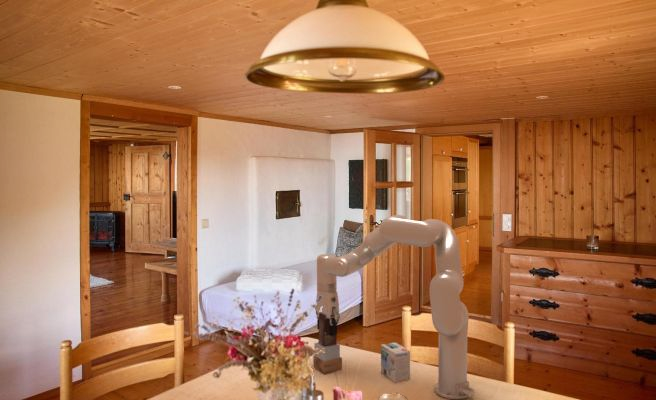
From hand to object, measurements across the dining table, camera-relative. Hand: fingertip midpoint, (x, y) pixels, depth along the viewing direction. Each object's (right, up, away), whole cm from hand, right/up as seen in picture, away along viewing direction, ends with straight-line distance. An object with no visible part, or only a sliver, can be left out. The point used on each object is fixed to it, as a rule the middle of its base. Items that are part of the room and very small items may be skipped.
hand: (327, 331), depth 187 cm
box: (0, -5, 0) cm, 5 cm away
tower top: (0, -10, 0) cm, 10 cm away
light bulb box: (+25, -15, -6) cm, 30 cm away
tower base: (0, -15, +1) cm, 15 cm away
